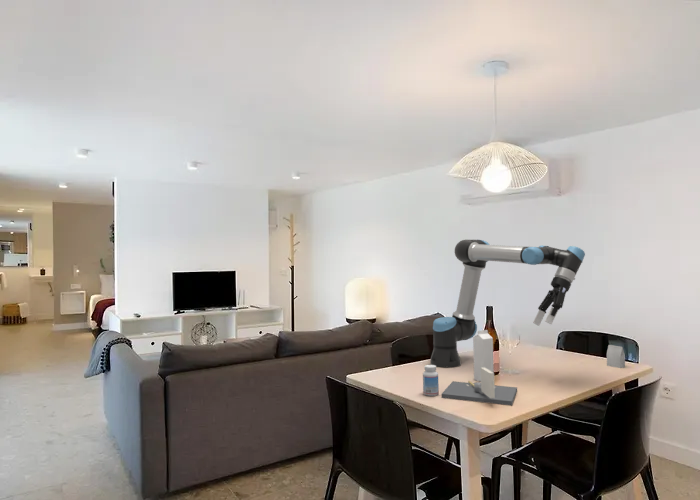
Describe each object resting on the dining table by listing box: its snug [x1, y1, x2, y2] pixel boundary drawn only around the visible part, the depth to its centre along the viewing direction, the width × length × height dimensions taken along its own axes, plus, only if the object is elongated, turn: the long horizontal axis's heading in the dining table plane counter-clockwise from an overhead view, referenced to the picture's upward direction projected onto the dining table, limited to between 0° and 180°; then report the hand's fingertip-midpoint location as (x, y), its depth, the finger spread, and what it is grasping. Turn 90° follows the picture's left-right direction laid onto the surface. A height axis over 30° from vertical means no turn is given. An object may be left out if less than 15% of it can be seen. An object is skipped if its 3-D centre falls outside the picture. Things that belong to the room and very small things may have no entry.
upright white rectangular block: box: [467, 368, 495, 398], centre depth 182 cm, size 25×4×10 cm, turn 5°
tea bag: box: [606, 344, 626, 369], centre depth 227 cm, size 4×7×10 cm, turn 31°
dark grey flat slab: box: [441, 380, 518, 406], centre depth 184 cm, size 26×20×2 cm
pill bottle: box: [422, 364, 440, 397], centre depth 186 cm, size 6×6×11 cm
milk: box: [472, 329, 495, 382], centre depth 205 cm, size 6×6×22 cm
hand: (541, 323), depth 197 cm, fingers open, 13 cm apart
